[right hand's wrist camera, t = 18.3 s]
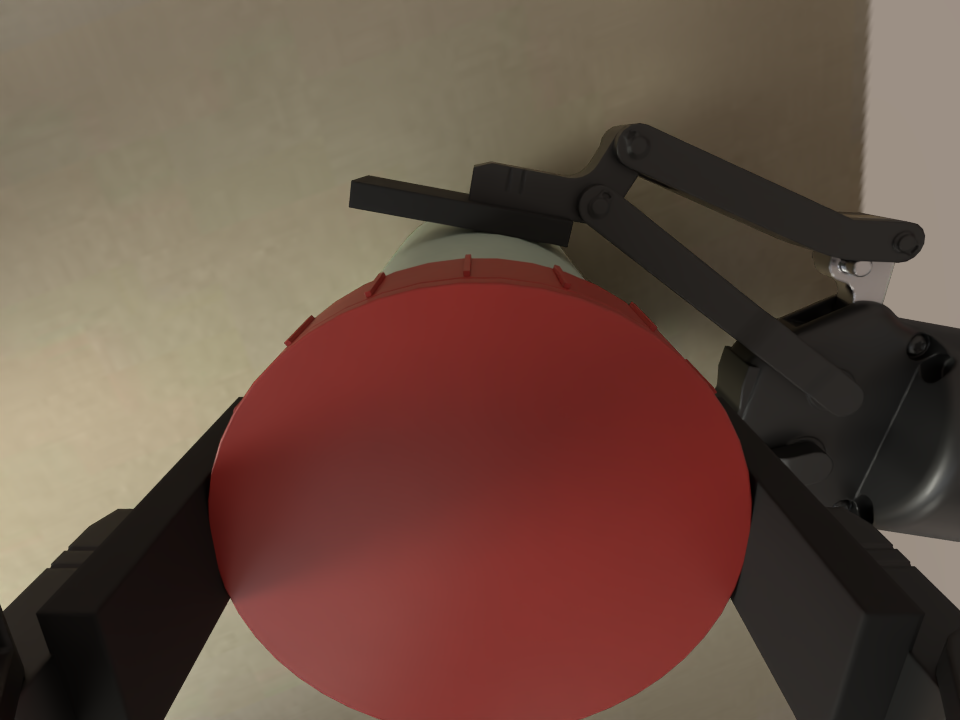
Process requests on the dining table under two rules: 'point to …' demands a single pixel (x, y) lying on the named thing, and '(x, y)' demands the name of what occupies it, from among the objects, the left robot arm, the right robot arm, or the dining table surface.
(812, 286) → the dining table surface
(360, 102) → the dining table surface
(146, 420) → the dining table surface
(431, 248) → the jar
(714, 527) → the lid
